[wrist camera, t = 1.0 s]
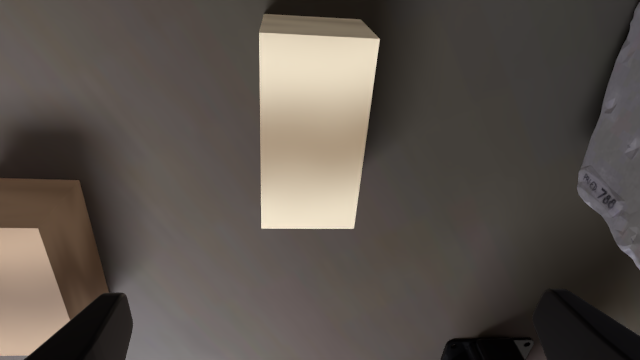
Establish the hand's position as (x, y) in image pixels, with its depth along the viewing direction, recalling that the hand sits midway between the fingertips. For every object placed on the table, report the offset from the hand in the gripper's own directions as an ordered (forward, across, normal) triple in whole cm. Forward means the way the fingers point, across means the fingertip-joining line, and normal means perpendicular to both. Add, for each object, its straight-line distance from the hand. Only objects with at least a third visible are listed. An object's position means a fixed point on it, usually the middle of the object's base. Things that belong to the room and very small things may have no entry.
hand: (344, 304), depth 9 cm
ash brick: (+12, 0, 0) cm, 12 cm away
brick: (+12, +13, +8) cm, 19 cm away
